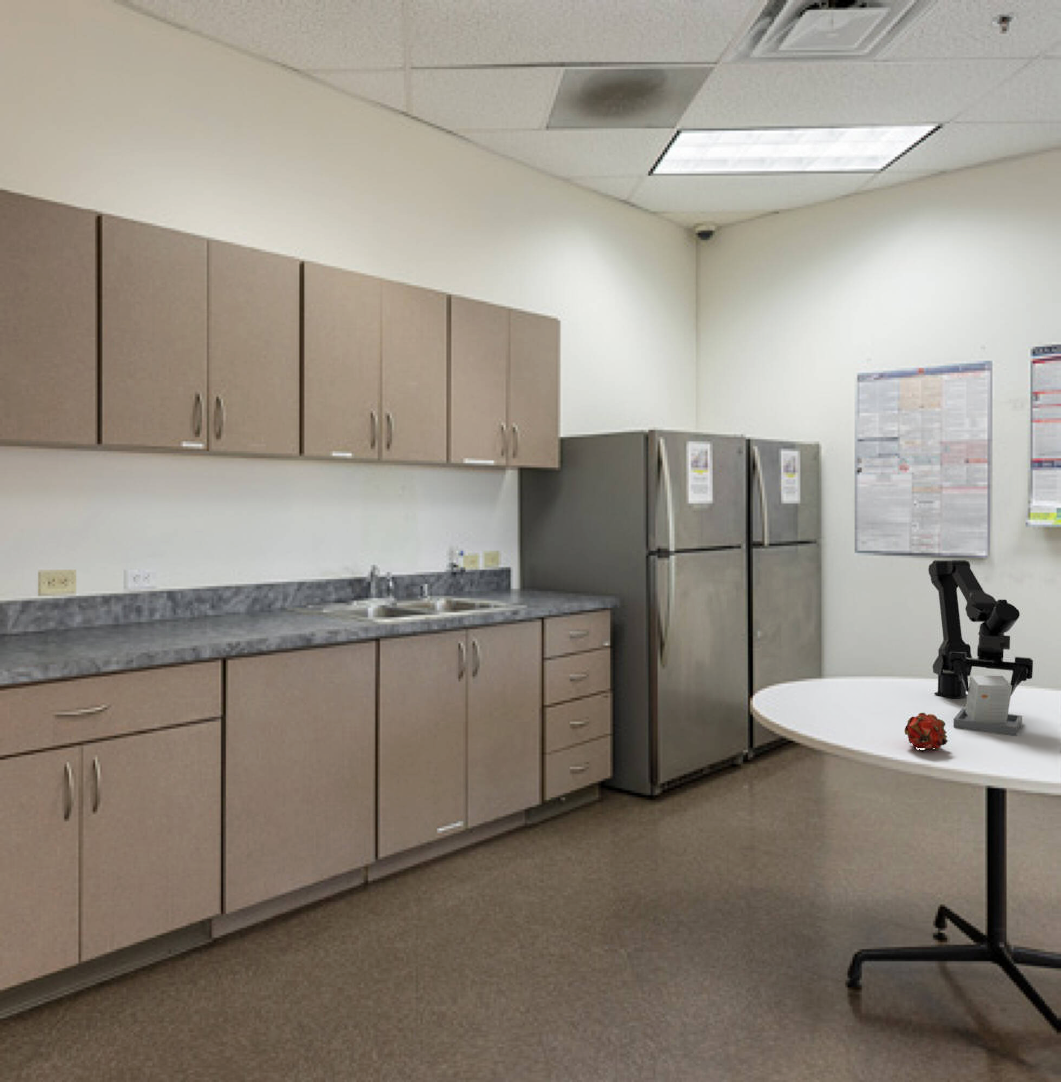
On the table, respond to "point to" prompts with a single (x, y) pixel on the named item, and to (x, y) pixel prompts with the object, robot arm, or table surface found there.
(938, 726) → the dragon fruit
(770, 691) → the table surface
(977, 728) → the tray
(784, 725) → the table surface
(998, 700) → the small box
